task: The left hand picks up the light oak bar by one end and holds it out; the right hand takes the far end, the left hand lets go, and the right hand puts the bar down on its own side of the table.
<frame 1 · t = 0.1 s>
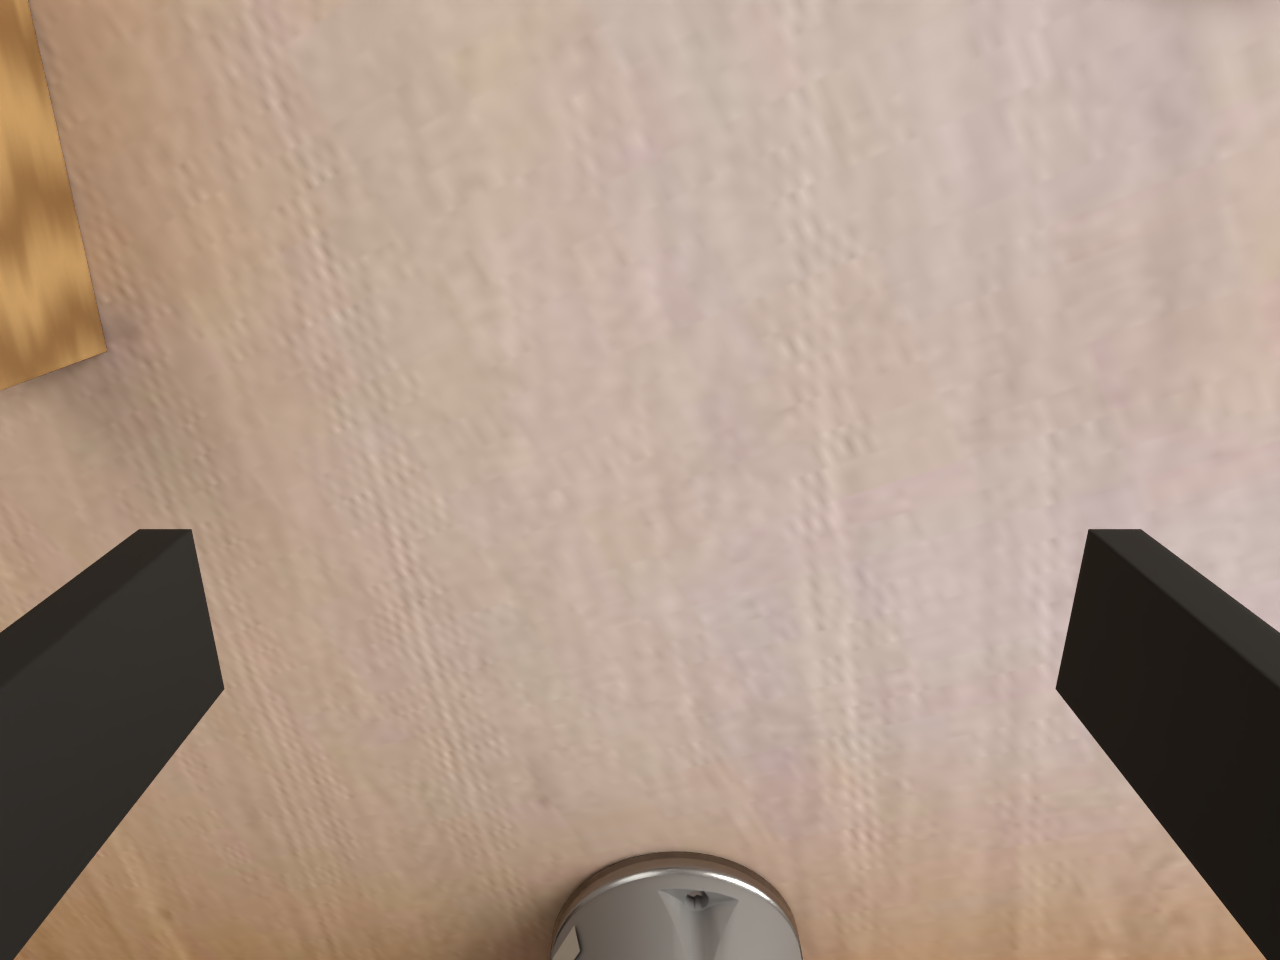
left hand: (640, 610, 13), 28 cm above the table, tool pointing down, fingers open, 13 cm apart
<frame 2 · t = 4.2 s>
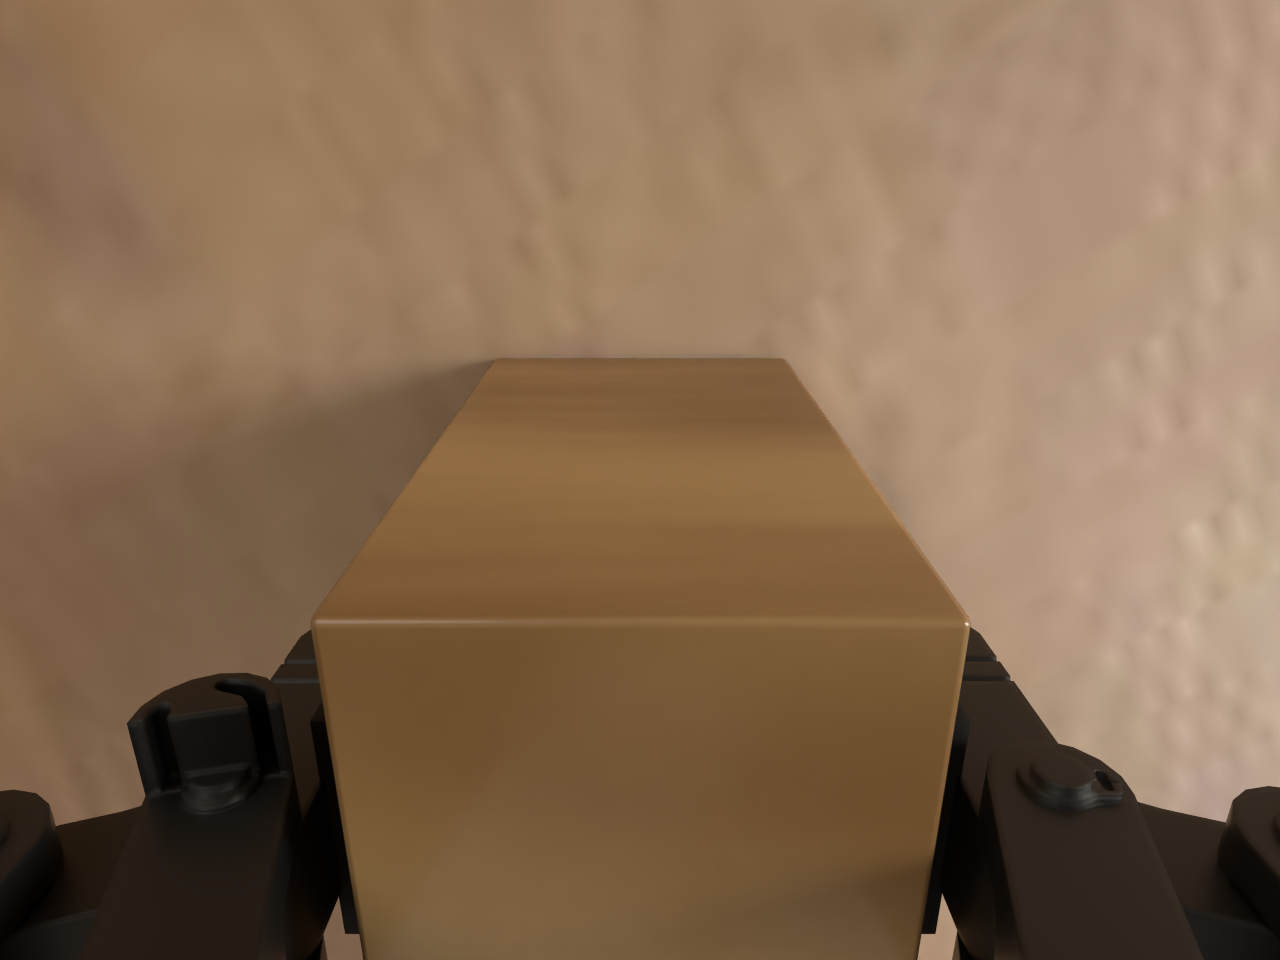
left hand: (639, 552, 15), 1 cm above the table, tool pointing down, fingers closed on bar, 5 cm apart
bar: (640, 916, 18), on the table, touching left hand
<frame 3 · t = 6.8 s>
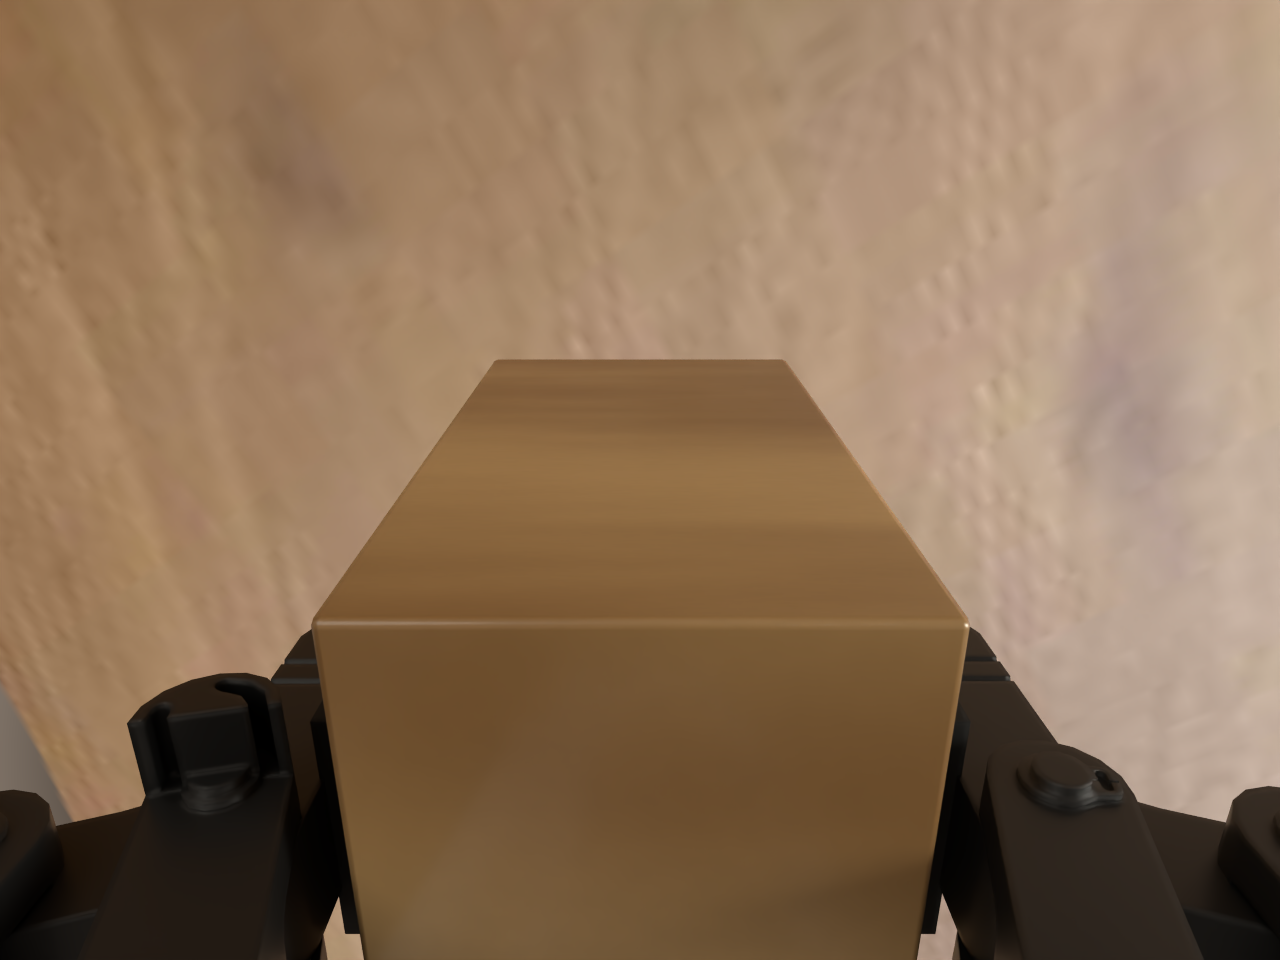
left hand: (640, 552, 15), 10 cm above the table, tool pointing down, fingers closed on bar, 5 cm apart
bar: (640, 916, 18), point 10 cm above the table, touching left hand
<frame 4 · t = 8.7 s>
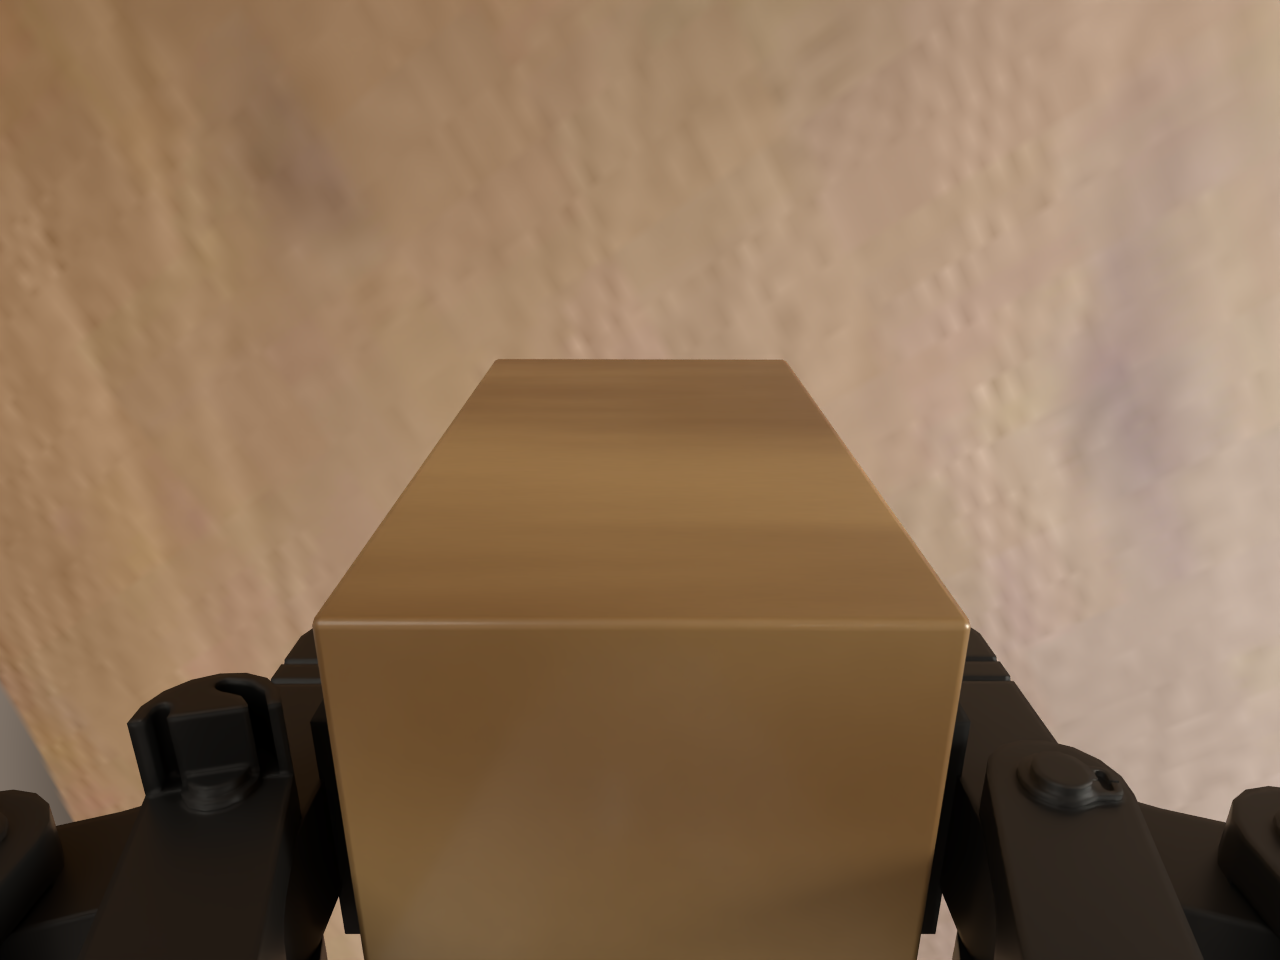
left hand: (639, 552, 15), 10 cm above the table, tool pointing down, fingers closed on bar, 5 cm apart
bar: (639, 916, 18), point 10 cm above the table, touching left hand, right hand
when the left hand's fingers open (10 cm above the table, at t = 9.4 s): bar stays where it is, held by the right hand.
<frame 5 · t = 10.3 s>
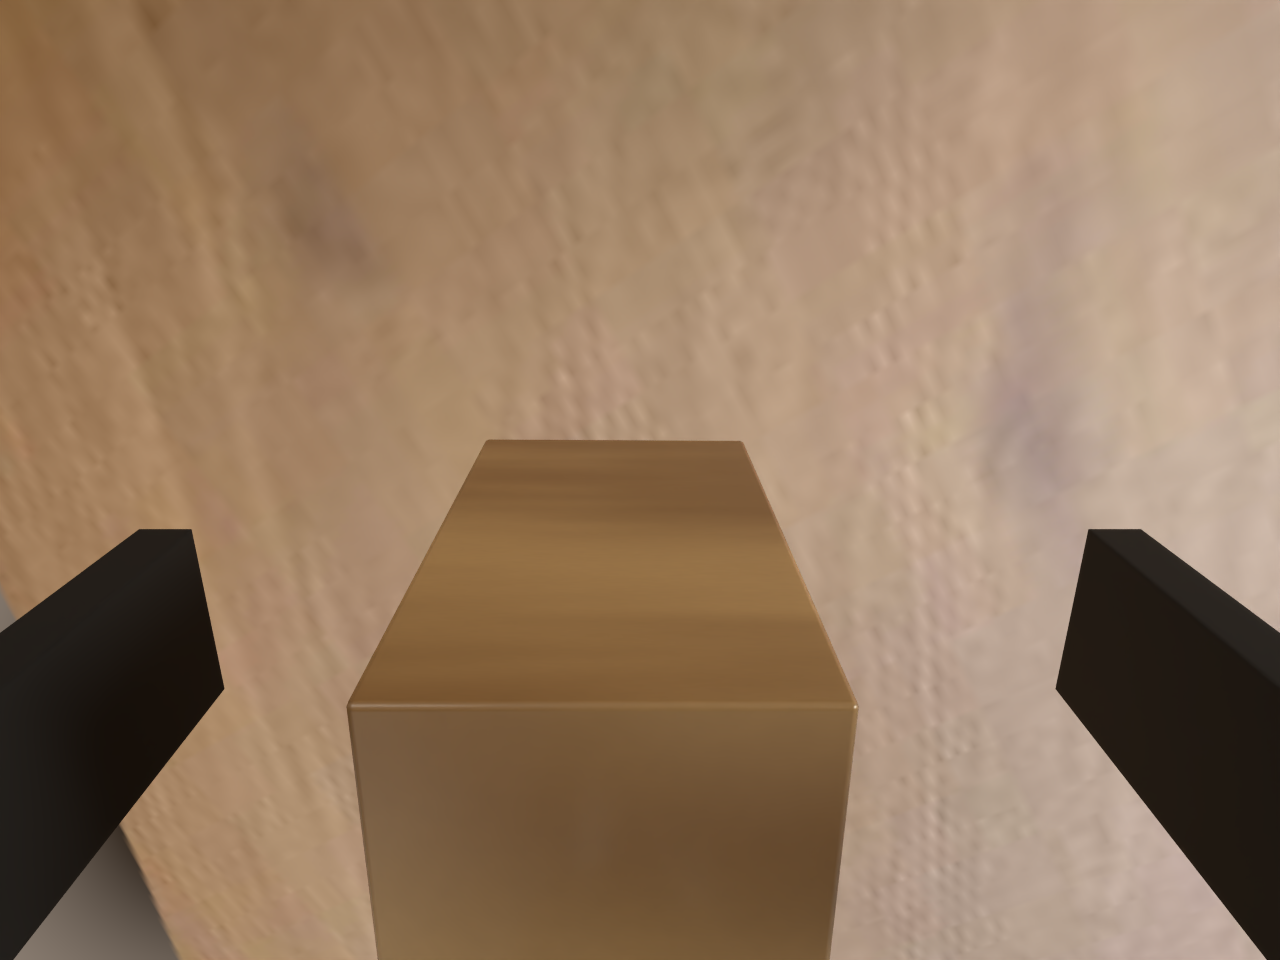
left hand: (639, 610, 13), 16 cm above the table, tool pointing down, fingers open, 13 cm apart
bar: (614, 938, 20), point 12 cm above the table, touching right hand
when the right hand's fingers open (2 cm above the table, at t = 13.7 s): bar drops 2 cm, on the table.
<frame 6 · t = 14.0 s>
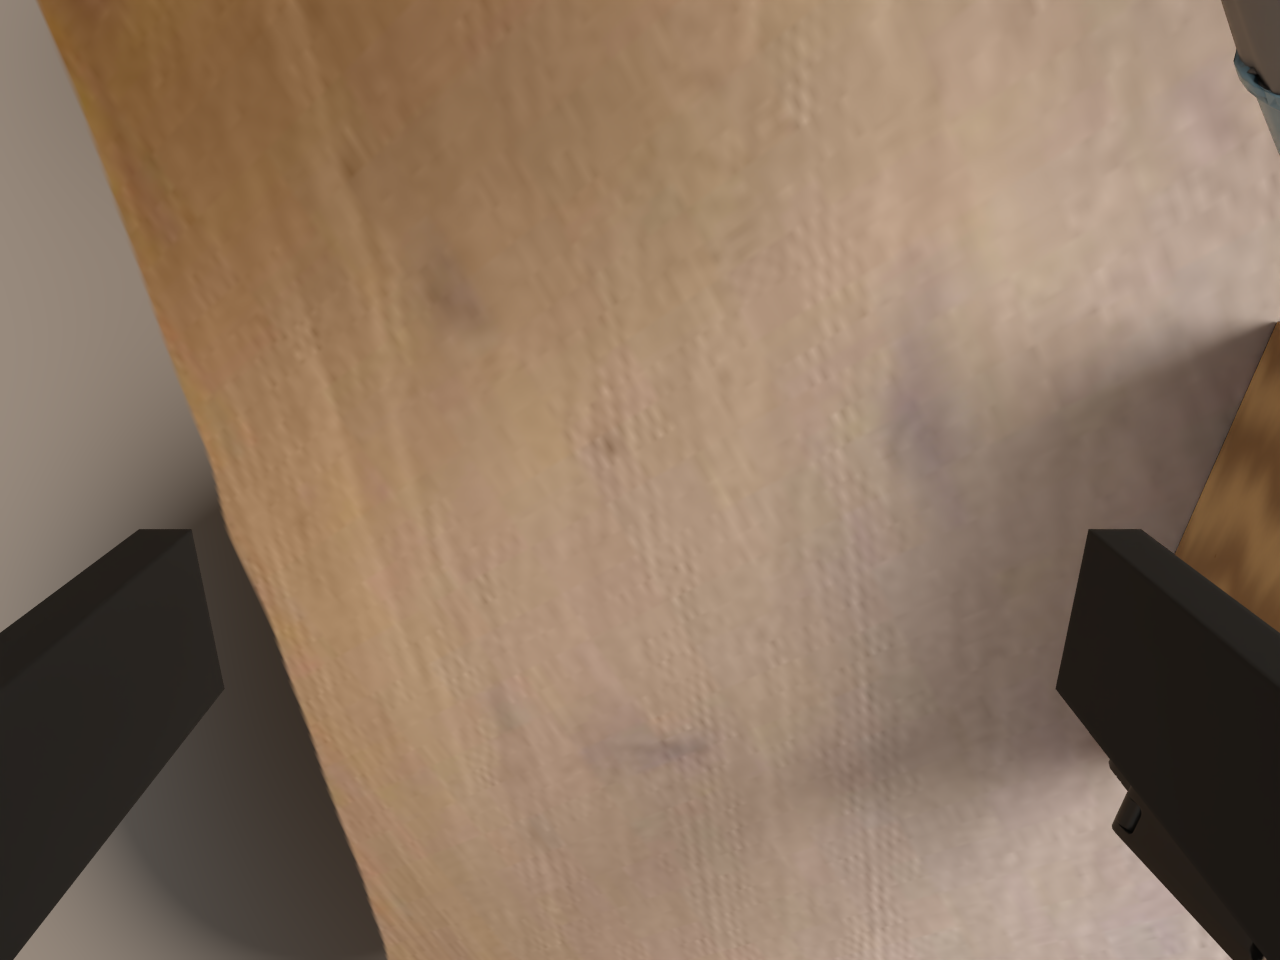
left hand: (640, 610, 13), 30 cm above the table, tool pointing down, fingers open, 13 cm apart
bar: (1219, 553, 45), on the table
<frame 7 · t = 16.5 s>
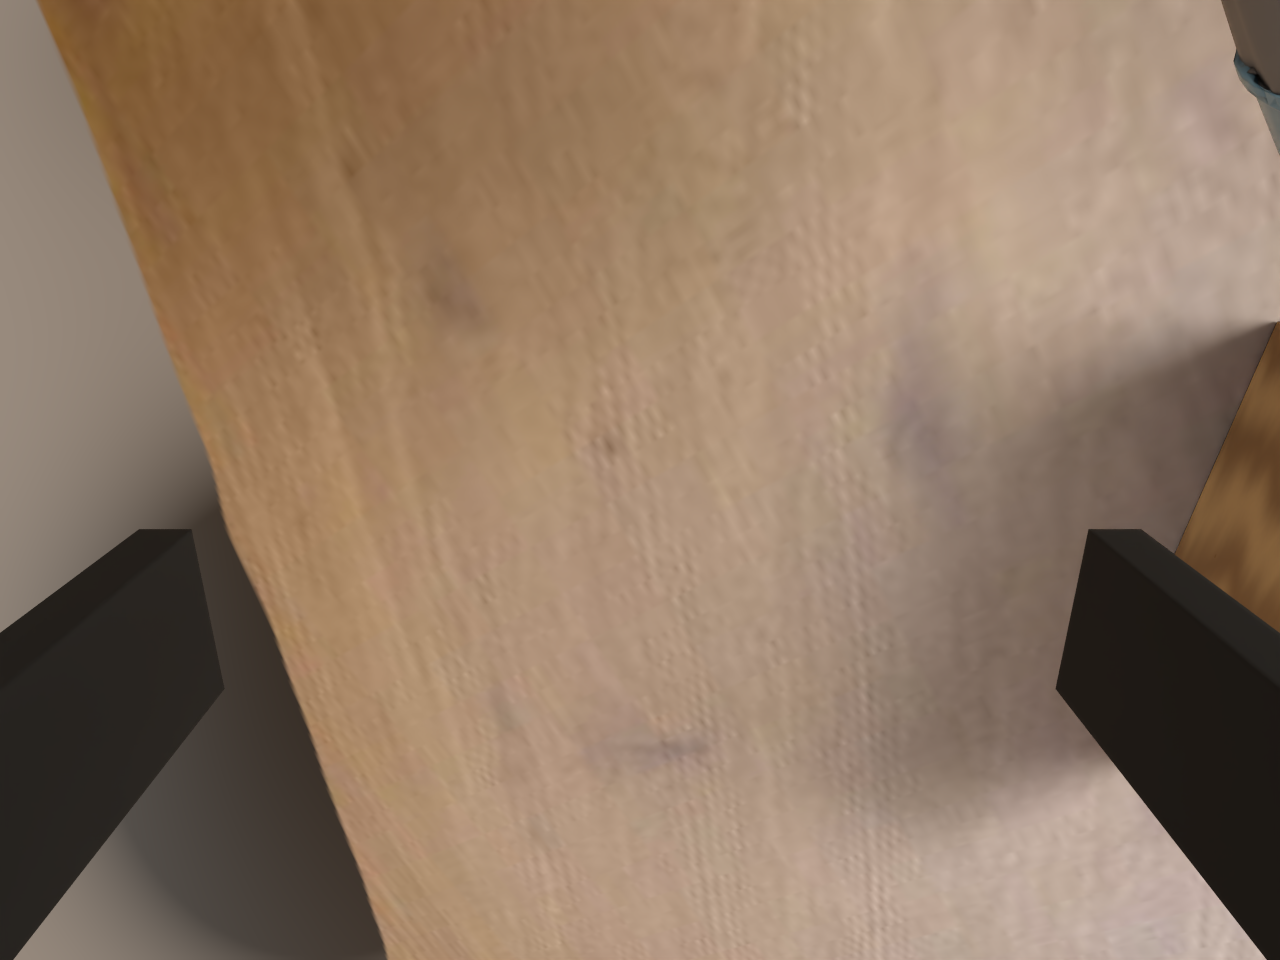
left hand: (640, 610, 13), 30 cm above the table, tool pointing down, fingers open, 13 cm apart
bar: (1219, 553, 45), on the table
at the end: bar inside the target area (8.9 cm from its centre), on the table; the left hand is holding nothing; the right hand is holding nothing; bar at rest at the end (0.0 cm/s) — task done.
